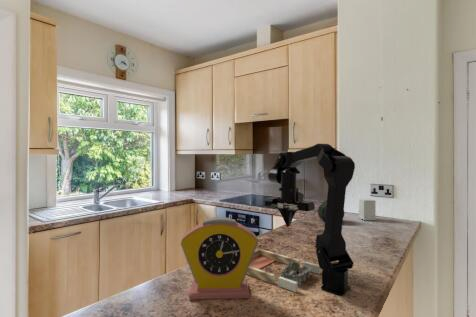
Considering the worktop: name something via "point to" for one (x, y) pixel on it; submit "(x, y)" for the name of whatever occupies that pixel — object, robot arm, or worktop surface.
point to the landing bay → (294, 285)
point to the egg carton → (291, 273)
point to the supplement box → (367, 209)
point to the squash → (323, 210)
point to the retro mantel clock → (219, 258)
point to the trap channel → (264, 259)
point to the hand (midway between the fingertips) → (288, 226)
